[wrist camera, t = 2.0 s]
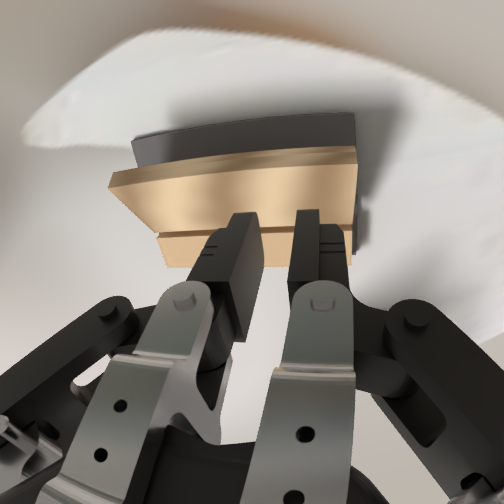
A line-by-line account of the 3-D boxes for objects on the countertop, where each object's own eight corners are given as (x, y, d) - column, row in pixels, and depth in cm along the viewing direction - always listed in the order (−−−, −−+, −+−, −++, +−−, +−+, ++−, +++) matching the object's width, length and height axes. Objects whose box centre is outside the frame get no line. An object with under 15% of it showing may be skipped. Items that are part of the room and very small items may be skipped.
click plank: (355, 145, 16) (358, 164, 16) (351, 208, 23) (352, 224, 22) (113, 172, 20) (107, 188, 20) (157, 218, 26) (154, 232, 26)
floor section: (353, 112, 19) (356, 117, 18) (355, 252, 25) (357, 265, 24) (133, 140, 23) (121, 146, 22) (169, 256, 29) (162, 267, 28)
